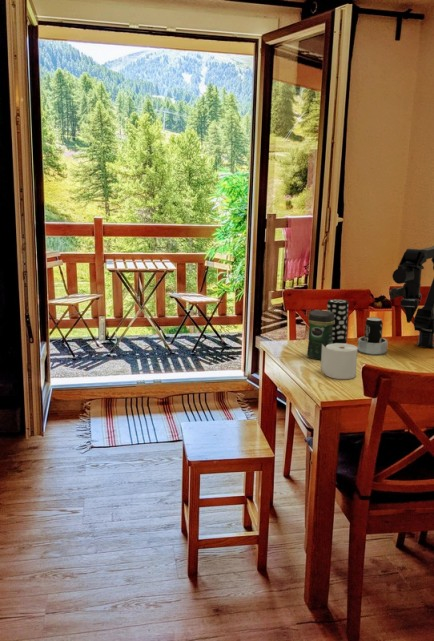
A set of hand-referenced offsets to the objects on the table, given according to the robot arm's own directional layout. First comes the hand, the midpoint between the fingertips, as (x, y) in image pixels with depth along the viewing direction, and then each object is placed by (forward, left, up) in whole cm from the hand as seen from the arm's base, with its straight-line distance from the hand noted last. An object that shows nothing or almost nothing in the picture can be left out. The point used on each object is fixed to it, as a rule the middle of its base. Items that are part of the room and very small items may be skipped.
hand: (409, 320), depth 214 cm
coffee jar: (+22, -30, -13) cm, 39 cm away
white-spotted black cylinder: (+8, -27, -13) cm, 31 cm away
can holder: (+5, -13, -13) cm, 19 cm away
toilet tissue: (+40, -19, -13) cm, 46 cm away
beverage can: (+5, -13, -12) cm, 18 cm away
